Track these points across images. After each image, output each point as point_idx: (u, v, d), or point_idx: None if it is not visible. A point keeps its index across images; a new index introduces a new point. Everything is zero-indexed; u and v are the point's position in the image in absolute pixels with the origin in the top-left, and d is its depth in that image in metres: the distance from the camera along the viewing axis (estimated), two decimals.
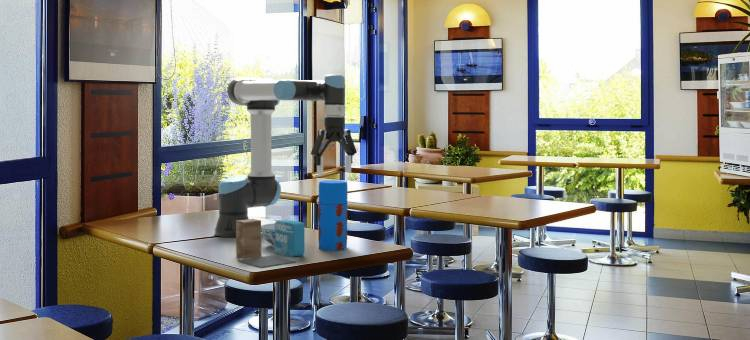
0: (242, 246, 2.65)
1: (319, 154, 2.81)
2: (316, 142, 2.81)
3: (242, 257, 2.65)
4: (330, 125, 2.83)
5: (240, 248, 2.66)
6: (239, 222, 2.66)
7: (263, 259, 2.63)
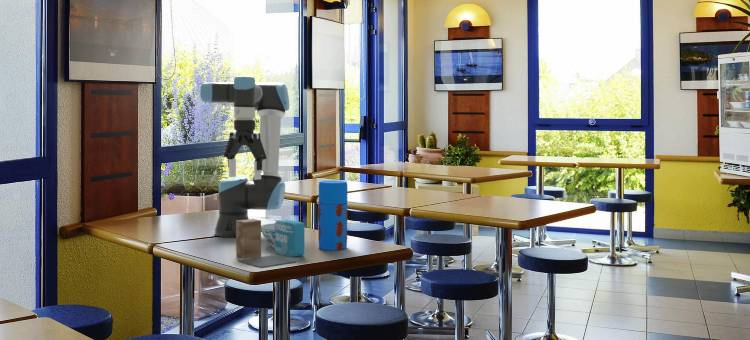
0: (242, 246, 2.65)
1: (227, 156, 2.81)
2: None
3: (242, 257, 2.65)
4: None
5: (240, 248, 2.66)
6: (239, 222, 2.66)
7: (263, 259, 2.63)
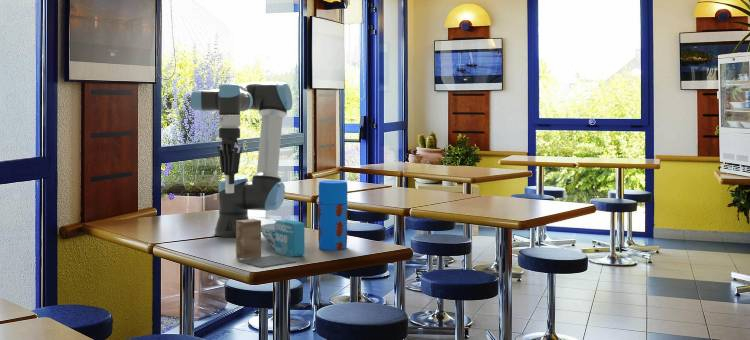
0: (242, 246, 2.65)
1: (224, 173, 2.76)
2: None
3: (242, 257, 2.65)
4: None
5: (240, 248, 2.66)
6: (239, 222, 2.66)
7: (263, 259, 2.63)
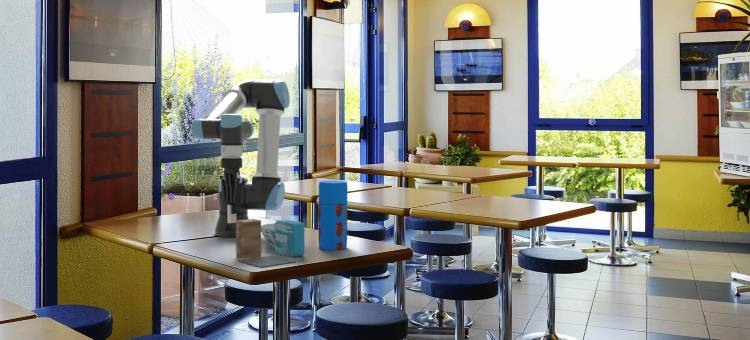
0: (242, 246, 2.65)
1: (226, 202, 2.76)
2: None
3: (242, 257, 2.65)
4: None
5: (240, 248, 2.66)
6: (239, 222, 2.66)
7: (263, 259, 2.63)
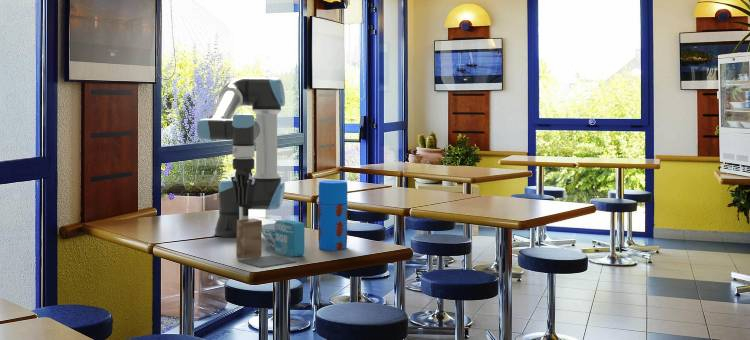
0: (242, 246, 2.65)
1: (237, 204, 2.70)
2: None
3: (242, 257, 2.65)
4: None
5: (240, 247, 2.66)
6: (240, 222, 2.65)
7: (263, 259, 2.63)
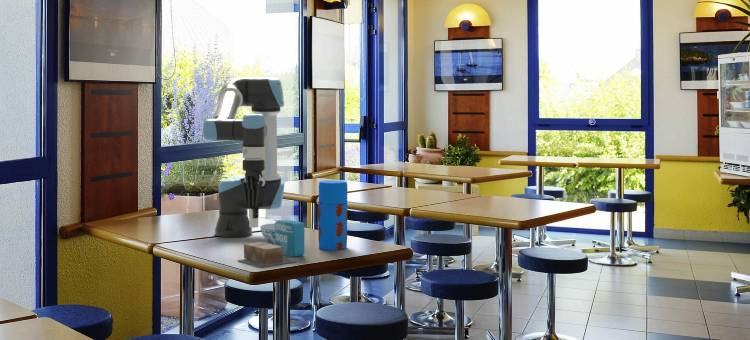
0: (251, 256, 2.61)
1: (247, 206, 2.65)
2: None
3: (244, 255, 2.64)
4: None
5: (249, 252, 2.62)
6: (264, 255, 2.55)
7: None
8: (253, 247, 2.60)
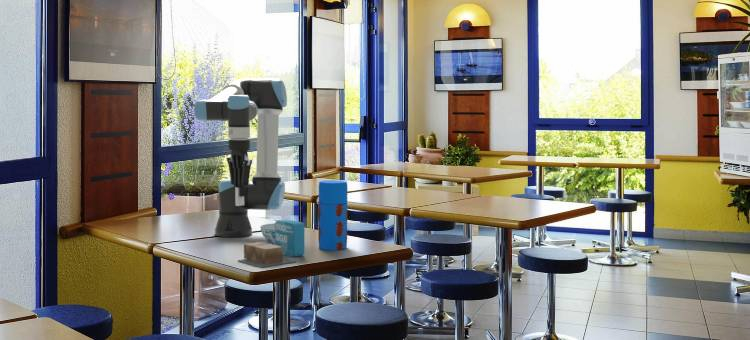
0: (251, 256, 2.61)
1: (233, 185, 2.72)
2: None
3: (244, 255, 2.64)
4: None
5: (249, 252, 2.62)
6: (264, 255, 2.55)
7: None
8: (253, 247, 2.60)
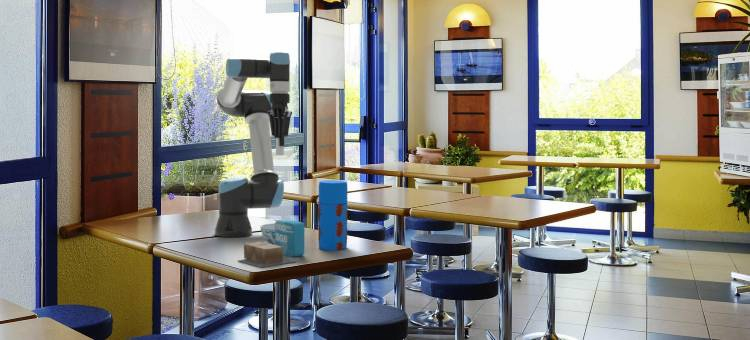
0: (251, 256, 2.61)
1: (274, 136, 2.93)
2: None
3: (244, 255, 2.64)
4: None
5: (249, 252, 2.62)
6: (264, 255, 2.55)
7: None
8: (253, 247, 2.60)
